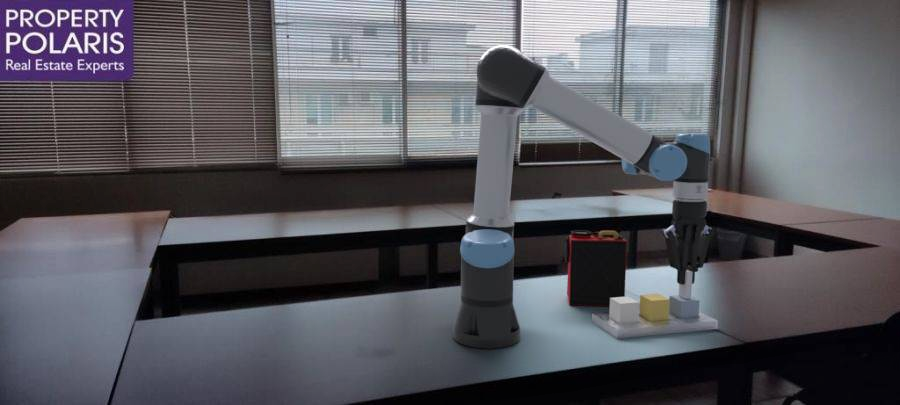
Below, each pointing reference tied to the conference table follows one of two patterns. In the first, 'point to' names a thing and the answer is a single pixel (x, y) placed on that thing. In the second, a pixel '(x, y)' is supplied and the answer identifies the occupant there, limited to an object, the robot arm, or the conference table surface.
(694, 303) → the slate key
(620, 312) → the ivory key
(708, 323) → the key panel
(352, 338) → the conference table surface
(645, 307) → the mustard key
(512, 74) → the robot arm
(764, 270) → the conference table surface
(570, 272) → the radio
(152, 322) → the conference table surface
